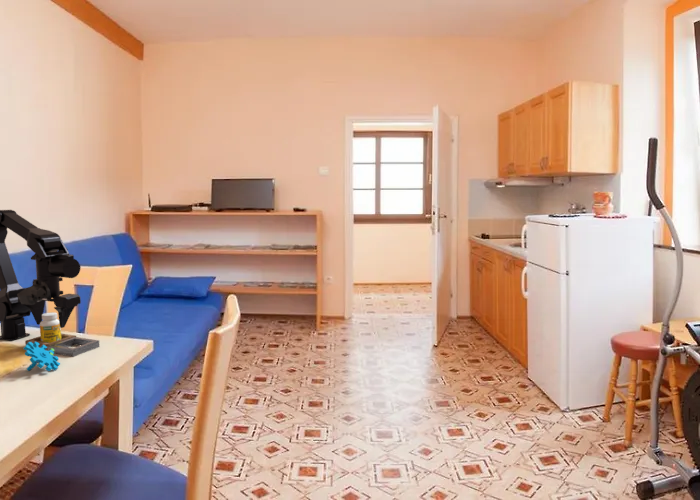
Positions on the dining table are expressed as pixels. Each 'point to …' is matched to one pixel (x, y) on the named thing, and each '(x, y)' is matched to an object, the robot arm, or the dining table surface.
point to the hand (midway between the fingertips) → (50, 326)
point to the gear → (41, 356)
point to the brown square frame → (63, 337)
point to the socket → (85, 346)
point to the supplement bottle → (50, 328)
